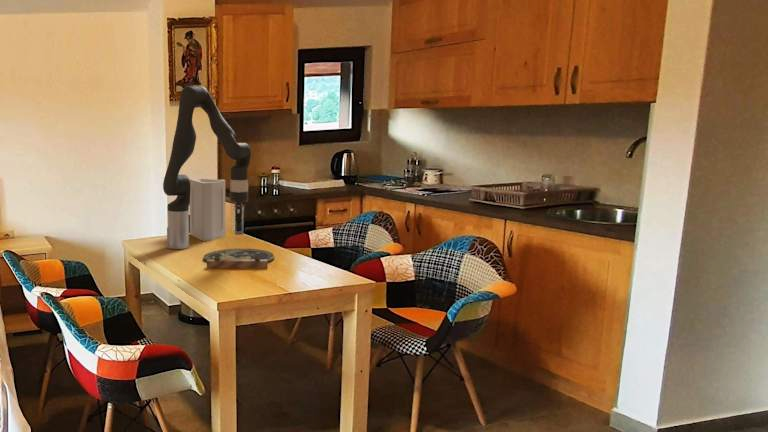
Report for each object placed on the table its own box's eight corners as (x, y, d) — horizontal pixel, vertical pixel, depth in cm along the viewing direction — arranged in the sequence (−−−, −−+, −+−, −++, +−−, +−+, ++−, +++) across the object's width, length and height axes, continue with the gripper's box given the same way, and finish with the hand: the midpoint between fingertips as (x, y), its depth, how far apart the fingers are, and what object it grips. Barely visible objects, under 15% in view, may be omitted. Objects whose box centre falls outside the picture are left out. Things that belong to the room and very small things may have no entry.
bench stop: (206, 268, 275) (206, 253, 274) (207, 266, 278) (207, 252, 277) (267, 268, 279) (267, 253, 278) (267, 266, 282) (267, 252, 281)
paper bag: (231, 238, 338) (232, 182, 334) (202, 240, 330) (202, 183, 325) (217, 232, 354) (217, 178, 349) (189, 234, 345) (188, 178, 341)
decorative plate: (236, 245, 314) (288, 253, 300) (236, 249, 314) (288, 258, 300) (188, 257, 288) (242, 266, 274) (188, 261, 289) (242, 271, 274)
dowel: (234, 234, 290) (234, 213, 289) (235, 233, 294) (235, 212, 293) (243, 234, 291) (243, 213, 290) (243, 233, 294) (243, 212, 293)
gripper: (230, 188, 296) (230, 227, 298) (229, 192, 282) (229, 233, 285) (248, 188, 297) (248, 227, 300) (247, 192, 283) (247, 233, 286)
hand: (239, 229), depth 292 cm, fingers closed on dowel, 3 cm apart
